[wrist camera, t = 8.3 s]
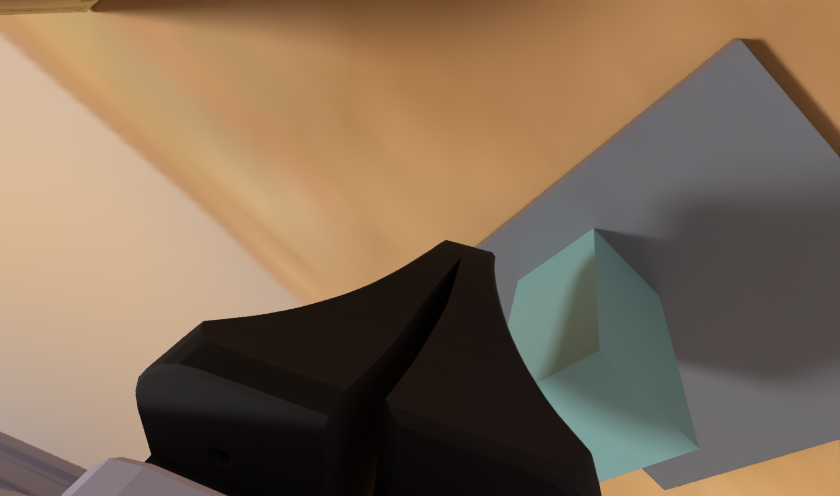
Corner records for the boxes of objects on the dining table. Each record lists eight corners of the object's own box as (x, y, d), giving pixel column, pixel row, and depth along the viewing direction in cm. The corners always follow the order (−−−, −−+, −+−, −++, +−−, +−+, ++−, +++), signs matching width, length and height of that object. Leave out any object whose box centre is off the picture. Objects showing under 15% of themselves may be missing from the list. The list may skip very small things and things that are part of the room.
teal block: (659, 296, 16) (699, 449, 11) (578, 340, 18) (577, 489, 12) (593, 228, 16) (599, 349, 10) (518, 280, 17) (488, 407, 12)
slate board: (1013, 370, 14) (1029, 383, 14) (662, 478, 21) (664, 490, 20) (734, 37, 12) (740, 39, 12) (447, 269, 19) (443, 276, 18)
